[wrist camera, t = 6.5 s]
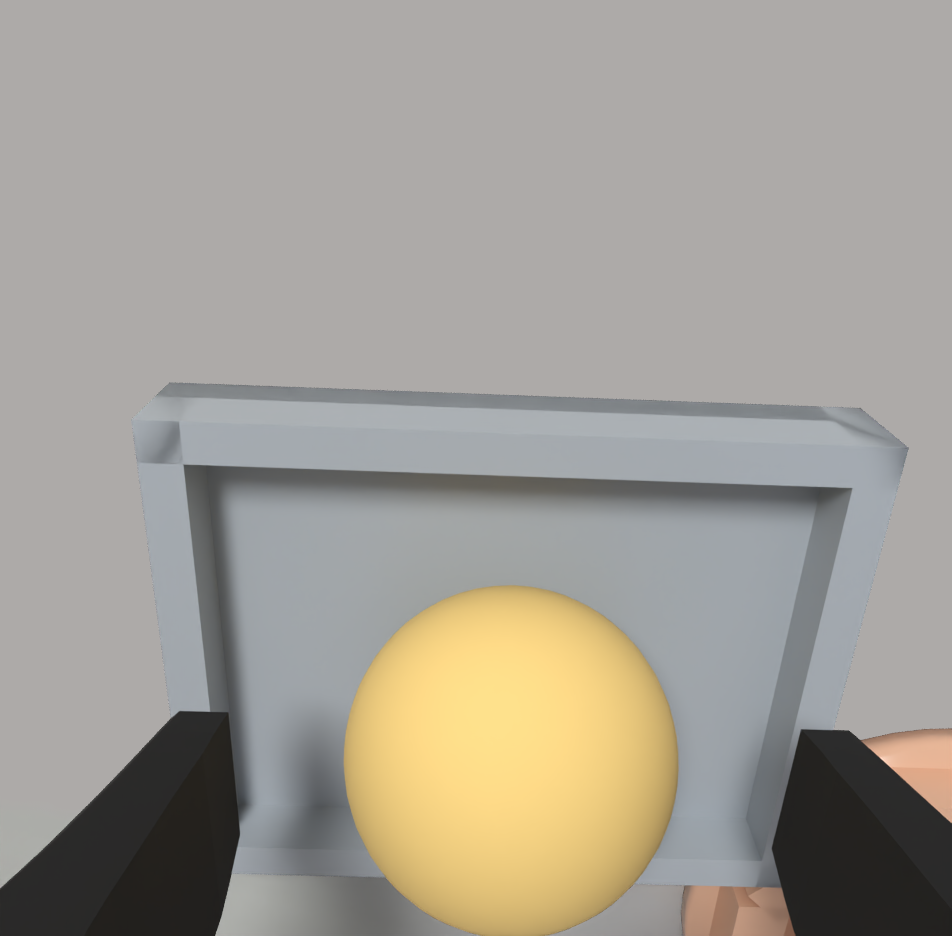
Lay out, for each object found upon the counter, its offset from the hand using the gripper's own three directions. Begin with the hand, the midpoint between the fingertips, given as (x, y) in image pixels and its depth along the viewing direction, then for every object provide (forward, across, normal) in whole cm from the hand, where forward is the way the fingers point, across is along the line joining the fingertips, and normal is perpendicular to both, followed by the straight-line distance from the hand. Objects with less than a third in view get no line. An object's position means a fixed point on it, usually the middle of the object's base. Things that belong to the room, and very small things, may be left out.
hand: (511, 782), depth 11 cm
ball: (+1, 0, 0) cm, 1 cm away
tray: (+3, 0, 0) cm, 3 cm away
